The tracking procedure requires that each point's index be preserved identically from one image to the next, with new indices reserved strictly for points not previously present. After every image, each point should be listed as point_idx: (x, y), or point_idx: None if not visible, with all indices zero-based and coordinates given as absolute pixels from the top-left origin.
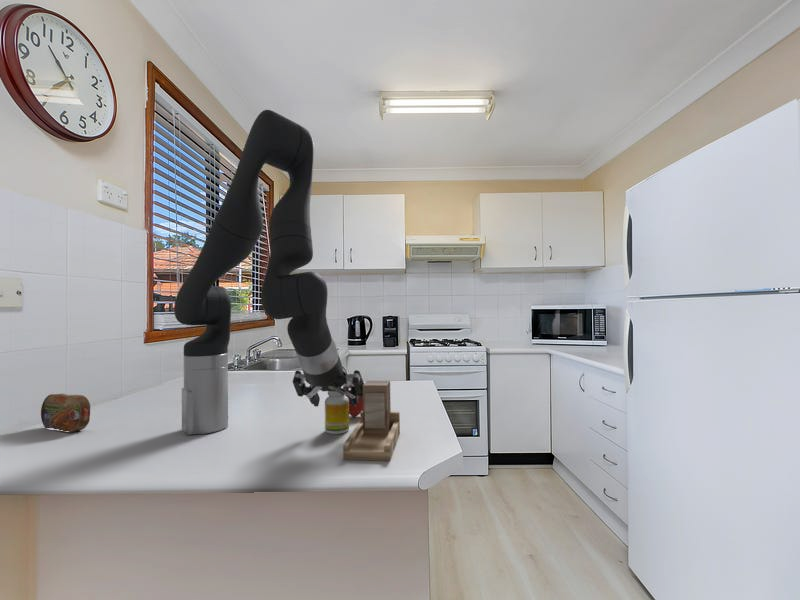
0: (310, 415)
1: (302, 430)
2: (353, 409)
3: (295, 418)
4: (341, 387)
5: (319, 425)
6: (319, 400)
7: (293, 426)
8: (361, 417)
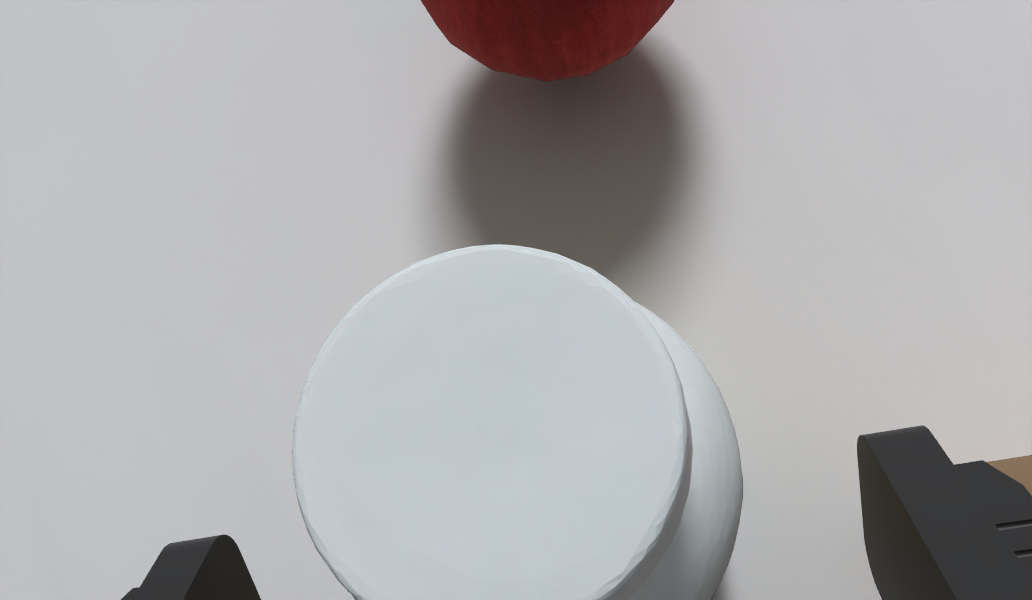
0: (115, 106)
1: None
2: (588, 66)
3: (7, 227)
4: (564, 353)
5: None
6: (236, 548)
7: (68, 474)
8: None
